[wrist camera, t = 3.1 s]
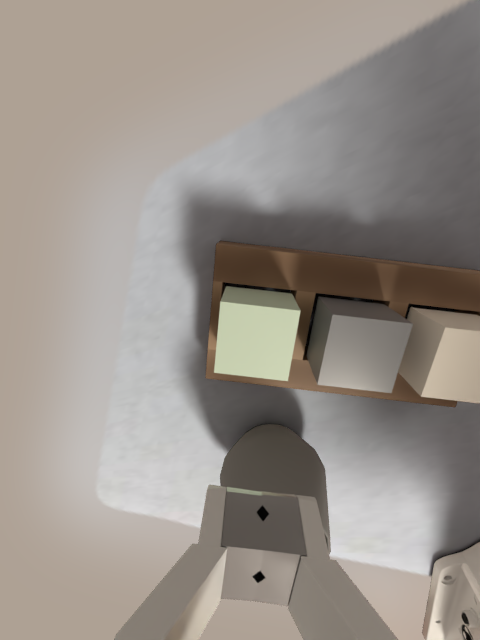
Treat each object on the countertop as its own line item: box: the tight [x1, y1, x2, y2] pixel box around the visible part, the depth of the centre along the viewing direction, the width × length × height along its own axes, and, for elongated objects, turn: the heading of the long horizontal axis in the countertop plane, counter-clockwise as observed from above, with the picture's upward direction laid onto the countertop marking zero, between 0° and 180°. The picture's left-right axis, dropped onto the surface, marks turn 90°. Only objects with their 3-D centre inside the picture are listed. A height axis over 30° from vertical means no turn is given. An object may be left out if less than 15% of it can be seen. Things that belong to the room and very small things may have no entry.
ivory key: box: [398, 307, 480, 403], centre depth 22 cm, size 5×5×4 cm
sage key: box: [214, 286, 300, 381], centre depth 22 cm, size 5×5×4 cm
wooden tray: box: [205, 241, 480, 407], centre depth 25 cm, size 11×21×3 cm, turn 84°
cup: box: [220, 424, 331, 554], centre depth 26 cm, size 10×9×10 cm
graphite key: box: [307, 297, 413, 393], centre depth 22 cm, size 5×5×4 cm
